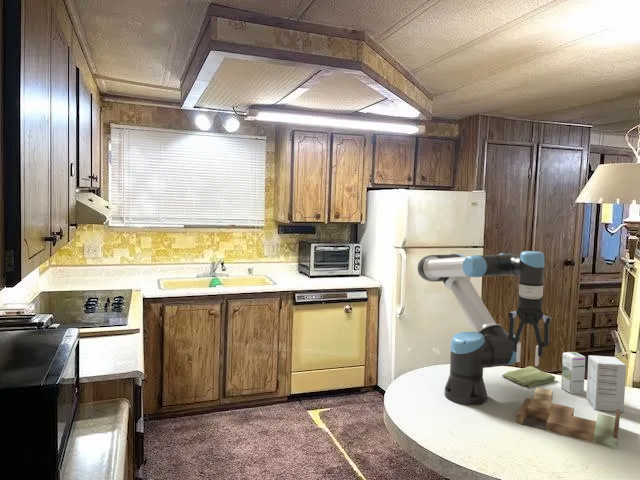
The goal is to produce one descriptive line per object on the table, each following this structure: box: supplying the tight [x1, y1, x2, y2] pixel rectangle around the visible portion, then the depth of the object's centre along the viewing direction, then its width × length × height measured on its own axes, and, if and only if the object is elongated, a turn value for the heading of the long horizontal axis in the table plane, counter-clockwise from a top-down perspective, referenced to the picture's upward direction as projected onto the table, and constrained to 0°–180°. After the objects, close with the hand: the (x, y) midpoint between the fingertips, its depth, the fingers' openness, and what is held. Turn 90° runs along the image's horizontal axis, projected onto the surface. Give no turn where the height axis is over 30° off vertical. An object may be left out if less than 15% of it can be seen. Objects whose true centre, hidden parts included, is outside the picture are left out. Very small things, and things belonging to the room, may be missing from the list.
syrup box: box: [561, 351, 586, 395], centre depth 179 cm, size 6×6×14 cm
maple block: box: [533, 386, 554, 410], centre depth 160 cm, size 5×5×5 cm
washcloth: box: [502, 365, 556, 388], centre depth 191 cm, size 13×18×3 cm
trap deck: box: [515, 396, 621, 450], centre depth 152 cm, size 28×16×6 cm, turn 56°
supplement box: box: [585, 354, 627, 413], centre depth 166 cm, size 10×9×17 cm
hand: (527, 362), depth 162 cm, fingers open, 5 cm apart
